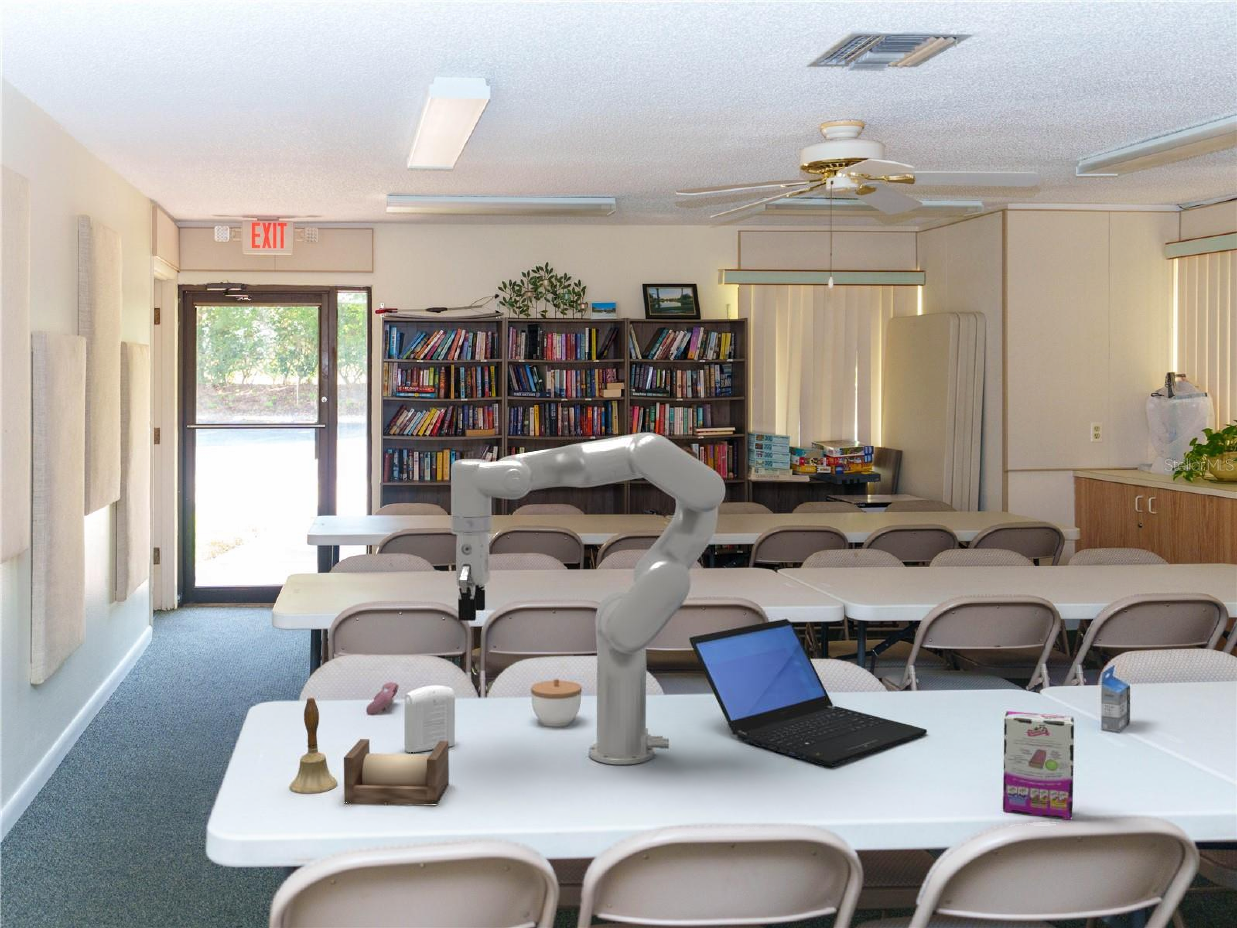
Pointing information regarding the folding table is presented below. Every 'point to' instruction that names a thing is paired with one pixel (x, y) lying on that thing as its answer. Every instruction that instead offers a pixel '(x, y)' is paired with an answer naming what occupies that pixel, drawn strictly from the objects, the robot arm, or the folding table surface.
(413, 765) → the paper roll
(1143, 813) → the folding table surface
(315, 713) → the hand bell
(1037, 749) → the candy bar box
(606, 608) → the robot arm
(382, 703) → the pink rounded lump
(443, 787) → the roll cradle
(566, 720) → the lidded jar
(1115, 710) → the label tape box
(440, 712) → the photo printer
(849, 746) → the laptop
